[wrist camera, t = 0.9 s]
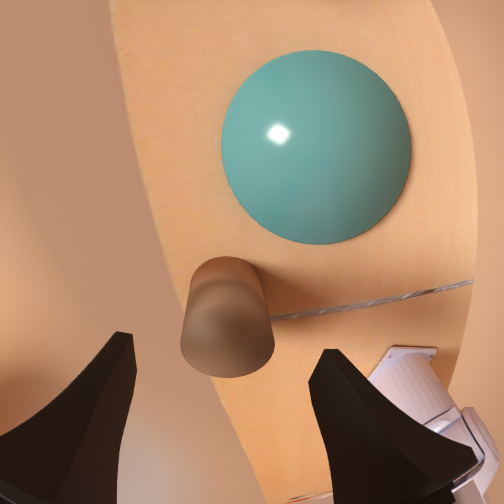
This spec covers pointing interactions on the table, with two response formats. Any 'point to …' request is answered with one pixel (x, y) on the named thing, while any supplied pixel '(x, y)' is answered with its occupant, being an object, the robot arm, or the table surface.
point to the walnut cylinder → (226, 320)
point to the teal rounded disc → (316, 147)
